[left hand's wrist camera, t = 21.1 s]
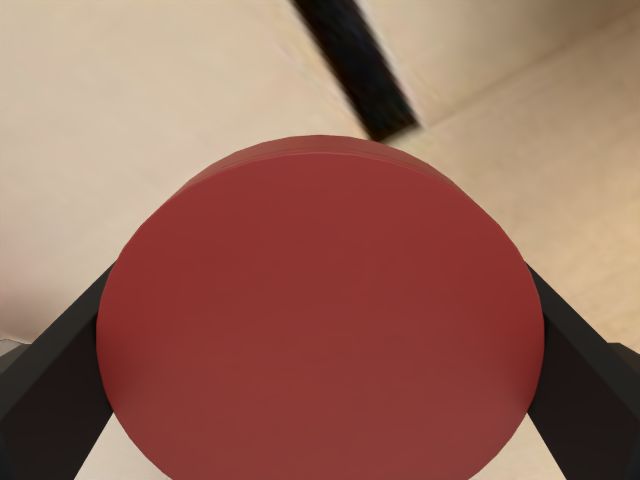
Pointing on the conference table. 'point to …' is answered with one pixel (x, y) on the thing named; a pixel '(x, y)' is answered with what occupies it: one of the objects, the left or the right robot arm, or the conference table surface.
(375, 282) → the lid
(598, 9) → the conference table surface
